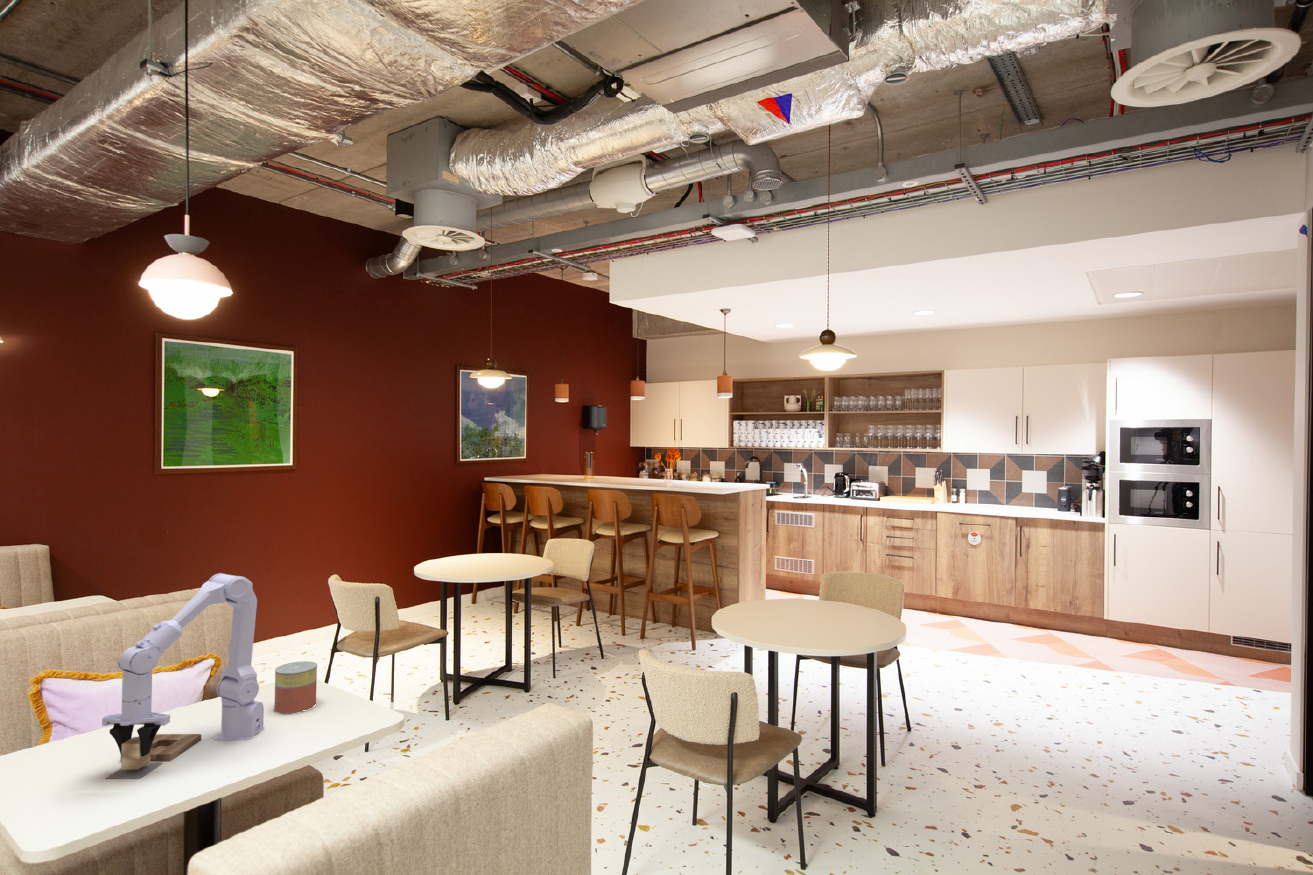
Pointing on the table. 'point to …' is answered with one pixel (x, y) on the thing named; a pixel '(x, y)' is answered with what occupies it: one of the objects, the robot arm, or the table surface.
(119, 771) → the rubber mat
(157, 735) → the pocket block
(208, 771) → the table surface
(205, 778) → the table surface
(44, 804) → the table surface
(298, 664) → the canned food
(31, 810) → the table surface
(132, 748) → the birch peg
